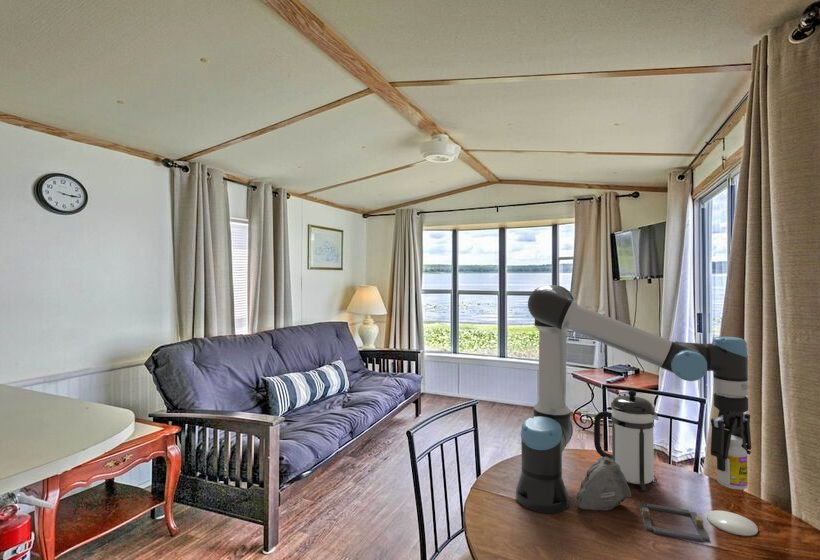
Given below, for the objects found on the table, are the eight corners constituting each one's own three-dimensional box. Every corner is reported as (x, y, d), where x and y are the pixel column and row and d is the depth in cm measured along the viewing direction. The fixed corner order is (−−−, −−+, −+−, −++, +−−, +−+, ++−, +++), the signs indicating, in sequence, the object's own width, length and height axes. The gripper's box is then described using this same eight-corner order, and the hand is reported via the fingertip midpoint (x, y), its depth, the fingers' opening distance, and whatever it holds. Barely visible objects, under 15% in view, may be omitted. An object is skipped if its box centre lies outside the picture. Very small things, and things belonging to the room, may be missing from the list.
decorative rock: (624, 502, 125) (624, 452, 125) (637, 514, 119) (637, 461, 119) (570, 503, 125) (570, 453, 125) (580, 516, 118) (580, 463, 118)
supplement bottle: (742, 493, 109) (741, 443, 109) (712, 483, 115) (711, 436, 115) (751, 486, 113) (751, 438, 113) (723, 476, 118) (722, 431, 118)
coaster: (713, 530, 111) (713, 528, 111) (701, 509, 121) (701, 507, 121) (765, 539, 107) (765, 537, 107) (748, 517, 117) (748, 514, 117)
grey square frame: (646, 531, 111) (646, 522, 111) (638, 504, 124) (638, 496, 124) (710, 543, 105) (710, 533, 105) (695, 514, 119) (695, 505, 119)
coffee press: (646, 470, 146) (645, 384, 146) (667, 494, 130) (667, 397, 130) (593, 468, 148) (593, 383, 148) (608, 490, 132) (607, 395, 132)
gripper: (723, 402, 107) (724, 493, 106) (767, 393, 115) (768, 477, 114) (693, 395, 113) (694, 480, 113) (736, 387, 121) (737, 466, 121)
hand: (731, 479), depth 114 cm, fingers closed on supplement bottle, 7 cm apart
